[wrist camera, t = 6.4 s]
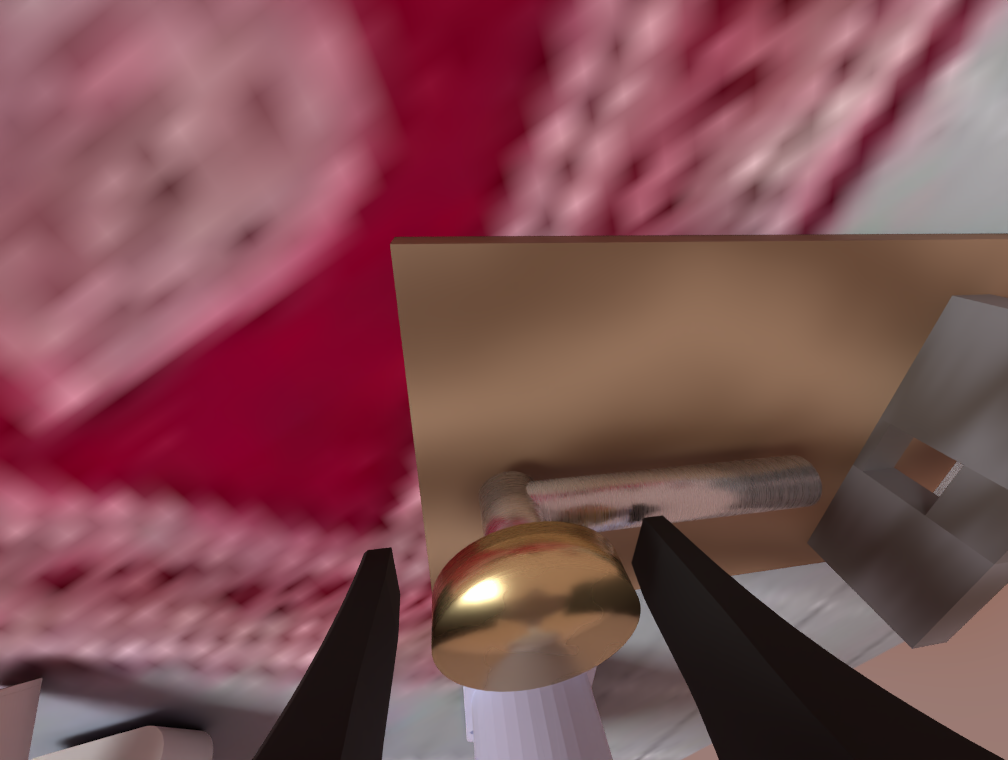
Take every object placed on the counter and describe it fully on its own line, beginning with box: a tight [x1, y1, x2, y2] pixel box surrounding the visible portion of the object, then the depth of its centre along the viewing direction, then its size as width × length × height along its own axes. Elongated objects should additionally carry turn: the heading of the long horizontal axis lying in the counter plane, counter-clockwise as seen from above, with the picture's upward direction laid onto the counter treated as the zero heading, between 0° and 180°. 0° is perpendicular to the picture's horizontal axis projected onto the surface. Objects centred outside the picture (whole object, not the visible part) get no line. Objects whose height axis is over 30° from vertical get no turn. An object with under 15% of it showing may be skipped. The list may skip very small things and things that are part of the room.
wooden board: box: [390, 234, 1008, 649], centre depth 13 cm, size 16×24×6 cm, turn 89°
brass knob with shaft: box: [432, 455, 822, 692], centre depth 12 cm, size 5×13×5 cm, turn 89°
